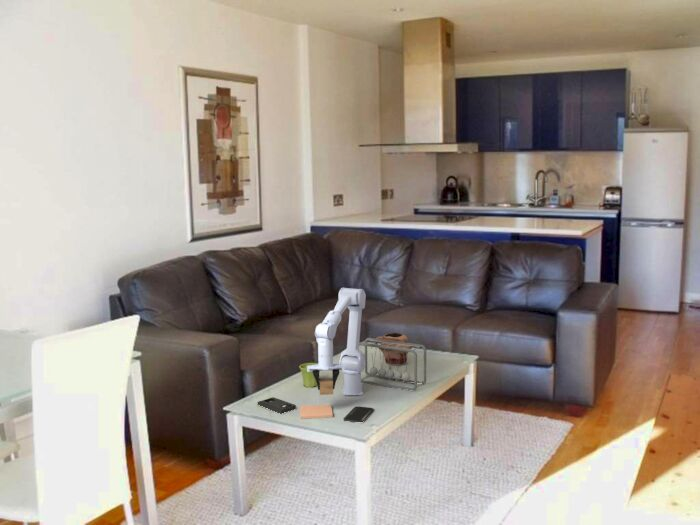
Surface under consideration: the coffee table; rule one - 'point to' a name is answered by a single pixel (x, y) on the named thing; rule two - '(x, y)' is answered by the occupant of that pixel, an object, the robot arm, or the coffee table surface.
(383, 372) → the newton's cradle
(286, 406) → the vhs tape
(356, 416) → the phone
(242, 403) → the coffee table surface
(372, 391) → the coffee table surface
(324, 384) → the walnut cube
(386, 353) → the decorative planter
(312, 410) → the terracotta tile
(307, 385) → the plant pot
